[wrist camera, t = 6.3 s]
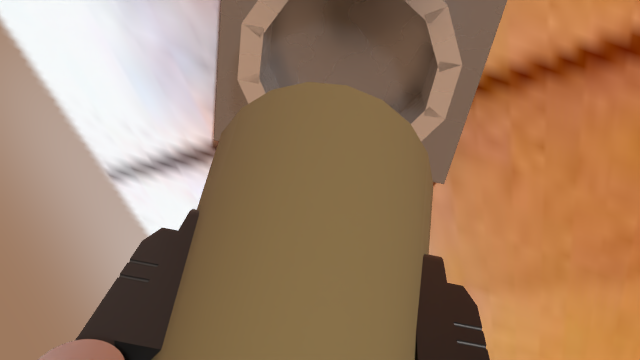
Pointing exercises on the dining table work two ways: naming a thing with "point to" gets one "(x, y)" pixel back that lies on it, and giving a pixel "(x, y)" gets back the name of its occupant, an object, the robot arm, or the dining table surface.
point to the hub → (362, 57)
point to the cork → (307, 234)
